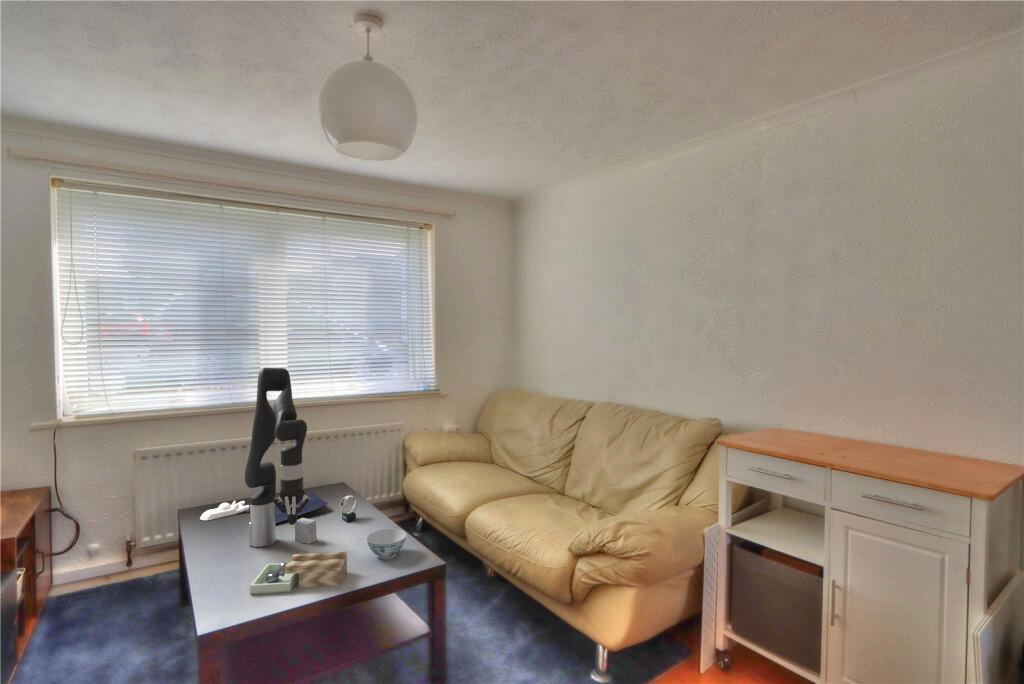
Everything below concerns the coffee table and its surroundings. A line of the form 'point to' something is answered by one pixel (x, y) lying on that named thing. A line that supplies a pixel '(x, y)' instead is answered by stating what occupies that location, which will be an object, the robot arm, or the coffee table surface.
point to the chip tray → (279, 587)
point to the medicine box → (305, 530)
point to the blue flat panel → (310, 506)
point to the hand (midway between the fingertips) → (292, 523)
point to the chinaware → (386, 542)
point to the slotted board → (318, 568)
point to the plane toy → (224, 510)
